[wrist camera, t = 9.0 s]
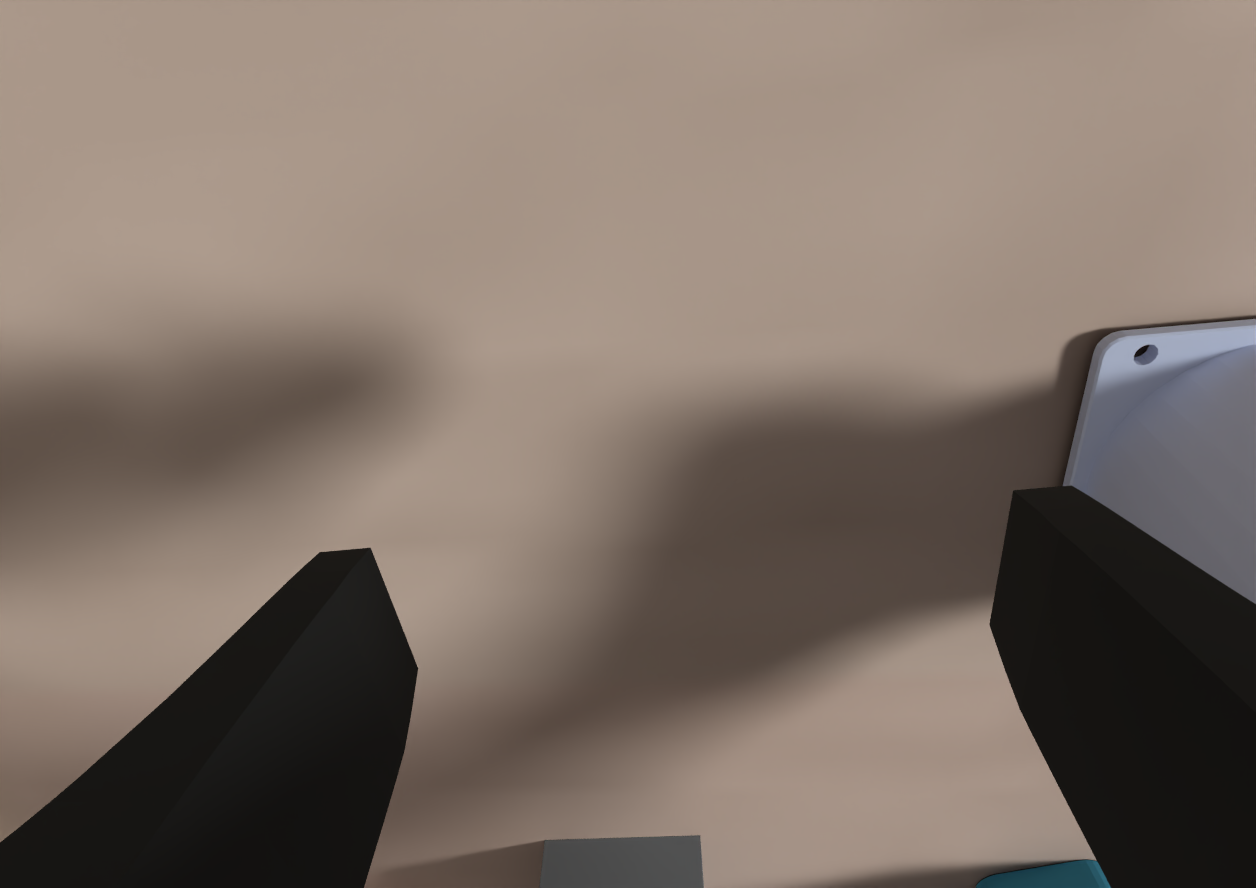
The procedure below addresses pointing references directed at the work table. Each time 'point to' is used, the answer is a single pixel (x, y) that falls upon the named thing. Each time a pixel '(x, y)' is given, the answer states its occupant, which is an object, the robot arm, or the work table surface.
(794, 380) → the work table surface
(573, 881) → the tower base
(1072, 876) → the block
